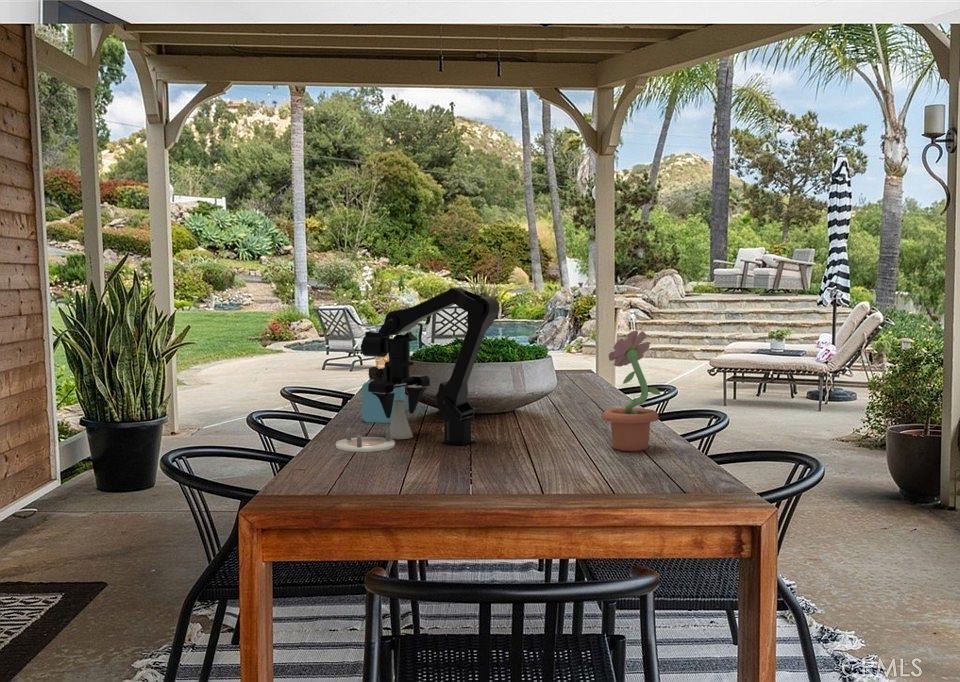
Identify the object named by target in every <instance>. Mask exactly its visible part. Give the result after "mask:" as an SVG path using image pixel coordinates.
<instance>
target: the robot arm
mask: <svg viewBox="0 0 960 682" xmlns="http://www.w3.org/2000/svg"><path fill="white" fill-rule="evenodd" d="M455 305H456V306H457V307H458V308H459V309H461V310H463V311H466V312H467V317H466V321H467V322H466V323H467V328H466V333H465V334H464V335H465V336H464V337H463V342H462V344H461V347H460V349H459V352H458V355H457V359H456V362H455V364H454V366H453V370H452V371H451V372H452V373H451V375H450V378H449V379H448V381H443V382H440V383H439V386H438V391H437V393H436V395H435V396H434V398H436V400H435V405H436V408H437V410H438V411H439V412H440V416H441V419H442V421H443V422H445V423H444V425H443V427H444V428H443V430H444V431H443V432H444V435H443V437H444V438H443V440H441V443H444V444H450V445H456V446H462V445H467V444H471V443H475V442H476V440H475V439H474V438H472V419H471V418H474V414H475V412H476V410H475V408H474V407H473V406H472V405H471V403H469V401H468V394H469V388H468V386H469V385H468V381H469V378H470V376H471V374H472V371H473V368H474V366H475V362H476V359H477V356H478V354H479V351H480V347H481V345H482V342H483V339H484V336H485V334H486V332H487V331H488V330H489V328H490V327H491V326H492V325H493V323H494V322H495V320H496V318H497V316H498V314H499V313H500V305H499V302H498V301H497V299H496V298H494V297H492V296H482V295H480V294H477V293H474V292H471V291H468V290H466V289H464V288H463V287H451V288H449V289H448V290H446V291H444V292H442V293H440V294H438V295H435V296H433V297H431V298H428V299H426V300H425V301H422V302H421V303H418V304H415V305H413V306H411V307H407V308H406V307H405V308H402V309H396V310H392V311H388V312H387V314H385V318H384V322H383V323H382V325H381V327H380V329H379V330H378V331H377V332H376V331H372V330H371V331H365V332H364V337H363V338H362V341H361V344H360V351H361V354H362V355H363V356H364V357H369V358H371V357H375V358H385V357H386V356H387V355H388V360H387V361H385V362H384V367H382V368H378V366H371V367H369V368H368V379H369V381H370V383H369V384H368V392H372V394H373V395H376V396H377V397H378V398H379V400H380V402H381V405H382V407H383V410H384V413H385V415H386V418H390V416H391V412H392V406H393V401H394V395H395V393H391V392H392V391H393V390H394V388H397V387H404V386H408V387H404V388H405V389H406V391H407V393H408V403H409V410H408V413H409V414H414V413H415V410H416V408H417V406H418V405H419V402H420V400H421V398H422V396H423V394H424V392H425V391H426V390H427V389H428V387H430V386H431V382H430V381H431V380H430V377H429V376H428V375H425V374H424V375H423V374H411V375H410V373H411V366H414V361H413V360H411V349H410V348H411V346H410V343H411V342H416V341H417V340H418V337H416V336H415V335H414V334H413V332H412V331H410V330H411V329H413V328H414V327H416V326H417V325H419V323H420V322H421V321H423V320H424V319H426V318H428V317H430V316H432V315H435V314H437V313H439V312H441V311H444V310H445V309H448V308H450V307H452V306H455ZM408 331H409V332H408ZM405 332H406V333H405ZM400 333H405V334H400ZM390 336H391V337H390ZM392 336H393V337H392ZM371 380H374V381H371Z"/></svg>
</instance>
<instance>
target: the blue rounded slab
mask: <svg viewBox="0 0 960 682" xmlns="http://www.w3.org/2000/svg"><path fill="white" fill-rule="evenodd" d="M370 381H374V380H371V379H370V380H368V381H366V382H364V383H363V384H362V386H361V405H362V406H361V407H362V408H361V409H362V410H361V414H362V415H361V416H362V420H363V421H364V422H365V423H376V424H379V423H380V424H391V421H392V418H393V415H394V409H395V404H394V402H393V406H392V412H391V416H390V418H386V415H385V413H384V410H383V407H382V405H381V402H380V400H379V398H378V397H377V396H376V395H373V394H372V392H368V384H369V383H370ZM404 387H405V386H404ZM404 387H397V388H394V390H393V391H392V392H391V393H395V395H394V401H395V400H404V401H405V388H404ZM404 409H405V403H404Z"/></svg>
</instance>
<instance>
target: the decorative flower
mask: <svg viewBox="0 0 960 682" xmlns="http://www.w3.org/2000/svg"><path fill="white" fill-rule="evenodd" d="M646 338H647V334H646V332H645V331H643V330H641V331H638V330H633V331H630V332H629V333H628V334H627V338H625V339H624V338H621V337H620V338H619V339H618V340H616V342H615V344H614V345H613V350H614V351H610V352H609V353H608V361H610V362H612V361H614V363H613V366H615V367H619V368H620V367H623V366H629V365H630V364H631V366H632V369H633V371H632V372H630V373H628V374H627V375H626V376H625V378H624V379H623V382H622V384H623V385H624V384H627V383H629V382H631V380H633V379H634V376H636V378H637V381H638V383H639V386H640V396H638V397H635V398H633V399H631V400H629V402H627V403H626V405H625V406H624V407H619V408H618V407H617V408H609V409H606V410H605V411H603V414H602V420H604V421H606V422H610V426H611V427H610V429H611V439H612V446H613V448H614V449H615V450H617V451H624V452H641V451H644V450H647V449H648V447H649V442H650V432H651V431H650V430H651V429H650V428H651V423H653V422H656V421H659V413H658V412H657V411H656V410H654V409H650V408H645V407H644V408H642V407H641V408H639V407H637V406H638V405H642V404H643V403H645V402H646V400H647V399H648V397H649V392H650V393H651V394H653V395H656V396H657V395H658V396H659V395H661V391H660V389H658V388H656V387H648V383H647V380H646V378H645V375H644V373H643V371H642V369H641V365H640V363H639V361H640V360H642V359H643V358H644V356H645V355H644V354H645V353H646V352H647V351H648V350H649V349H650V342H648V341H647V342H643V341H645V339H646ZM642 342H643V343H642Z"/></svg>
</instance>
